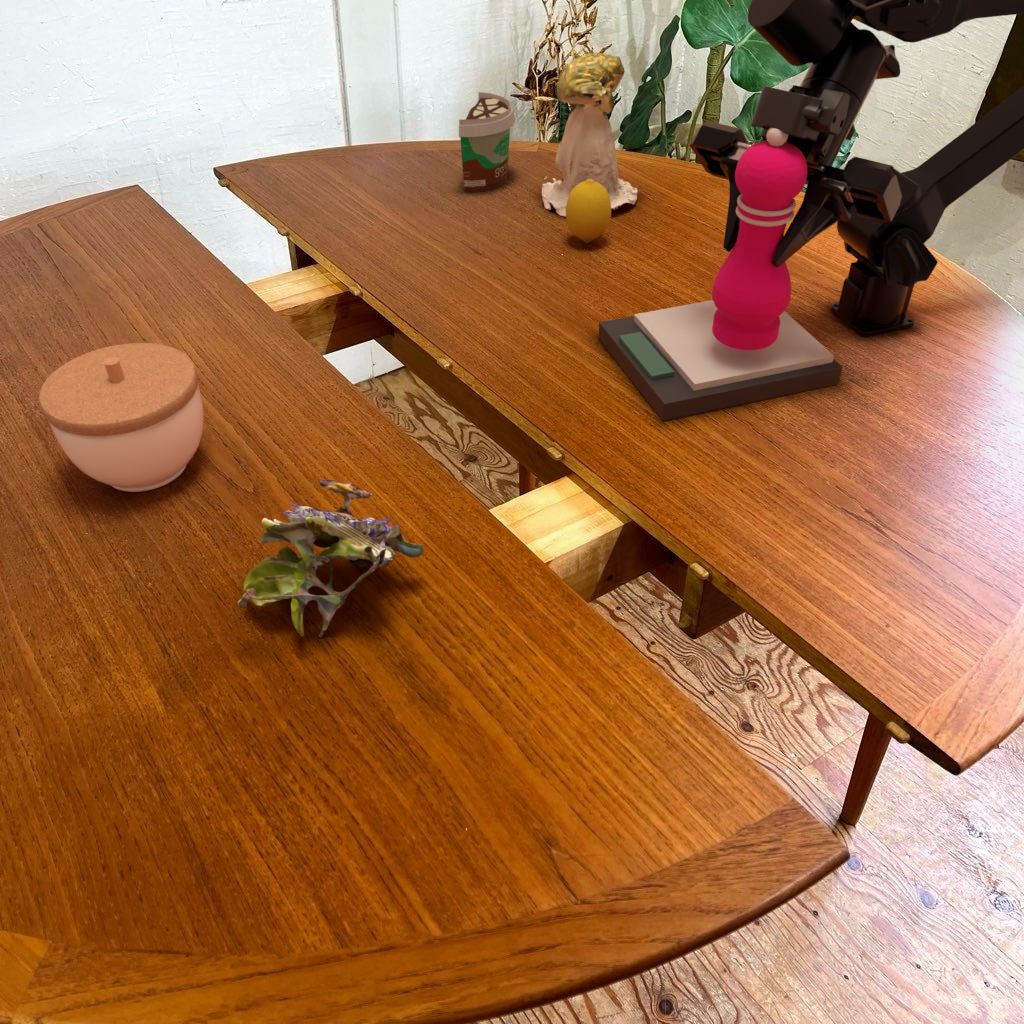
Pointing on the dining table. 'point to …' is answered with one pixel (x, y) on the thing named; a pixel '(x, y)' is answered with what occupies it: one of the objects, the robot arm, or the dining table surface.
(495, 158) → the food container
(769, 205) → the pepper mill
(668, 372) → the scale
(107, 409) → the lidded bowl
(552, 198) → the mushroom
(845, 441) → the dining table surface
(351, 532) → the passion flower
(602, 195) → the lemon
